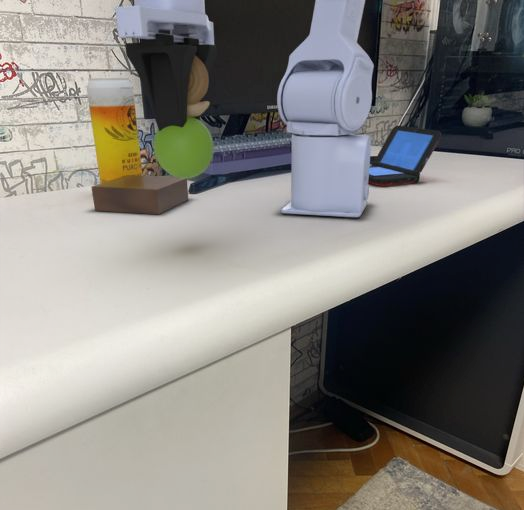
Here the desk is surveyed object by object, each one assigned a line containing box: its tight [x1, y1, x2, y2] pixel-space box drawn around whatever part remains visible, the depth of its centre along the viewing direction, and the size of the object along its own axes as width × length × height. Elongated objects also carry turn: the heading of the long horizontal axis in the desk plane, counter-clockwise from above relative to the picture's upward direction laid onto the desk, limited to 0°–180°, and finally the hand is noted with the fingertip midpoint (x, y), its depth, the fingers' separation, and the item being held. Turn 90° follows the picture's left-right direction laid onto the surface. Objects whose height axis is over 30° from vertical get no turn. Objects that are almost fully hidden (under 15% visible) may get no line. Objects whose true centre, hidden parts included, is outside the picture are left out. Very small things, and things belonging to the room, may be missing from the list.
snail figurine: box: [134, 38, 215, 180], centre depth 47 cm, size 5×6×12 cm
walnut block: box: [91, 175, 189, 215], centre depth 70 cm, size 9×9×3 cm
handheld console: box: [368, 125, 442, 187], centre depth 85 cm, size 12×11×7 cm
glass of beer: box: [86, 77, 144, 184], centre depth 75 cm, size 6×6×15 cm
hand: (179, 134), depth 48 cm, fingers closed on snail figurine, 2 cm apart
